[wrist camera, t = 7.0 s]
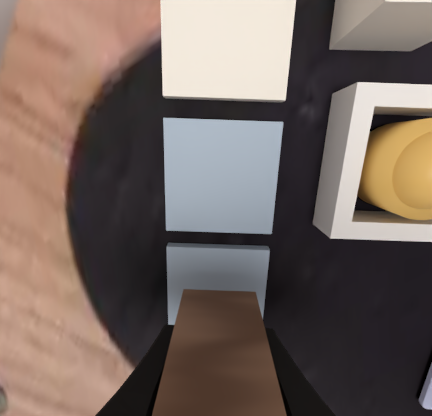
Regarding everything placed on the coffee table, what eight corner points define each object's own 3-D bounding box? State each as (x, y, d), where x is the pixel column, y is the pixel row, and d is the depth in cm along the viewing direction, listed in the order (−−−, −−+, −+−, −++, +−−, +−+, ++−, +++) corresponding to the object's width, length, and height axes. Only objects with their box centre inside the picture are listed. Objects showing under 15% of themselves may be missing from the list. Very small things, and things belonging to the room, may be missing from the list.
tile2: (296, -44, 10) (301, -55, 10) (282, 102, 12) (285, 100, 11) (162, -49, 10) (159, -61, 10) (165, 98, 12) (162, 95, 11)
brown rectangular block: (255, 291, 11) (292, 439, 6) (250, 349, 12) (277, 527, 7) (183, 289, 12) (147, 433, 6) (183, 347, 12) (152, 522, 7)
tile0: (267, 245, 14) (270, 250, 13) (259, 328, 16) (261, 335, 15) (168, 242, 14) (166, 246, 13) (170, 325, 16) (168, 332, 15)
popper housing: (469, 98, 12) (524, 88, 10) (431, 228, 14) (470, 243, 11) (332, 93, 12) (357, 82, 10) (312, 223, 14) (330, 238, 11)
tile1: (280, 123, 12) (283, 122, 12) (269, 230, 14) (271, 234, 13) (166, 119, 12) (163, 117, 12) (168, 226, 14) (166, 230, 13)
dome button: (443, 124, 12) (542, 114, 8) (420, 207, 13) (498, 231, 9) (357, 120, 12) (418, 110, 8) (341, 204, 13) (389, 227, 9)
